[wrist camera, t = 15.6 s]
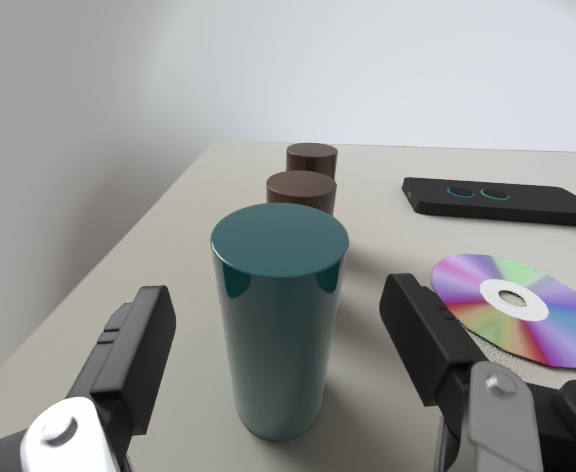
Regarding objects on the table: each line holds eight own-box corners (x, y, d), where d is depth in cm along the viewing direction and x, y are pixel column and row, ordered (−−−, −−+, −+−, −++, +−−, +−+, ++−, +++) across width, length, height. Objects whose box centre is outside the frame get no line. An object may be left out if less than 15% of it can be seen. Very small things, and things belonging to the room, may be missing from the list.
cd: (406, 256, 25) (407, 255, 25) (522, 252, 26) (522, 251, 26) (495, 376, 16) (495, 375, 16) (670, 363, 16) (671, 362, 16)
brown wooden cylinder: (263, 312, 19) (258, 193, 14) (274, 275, 23) (274, 168, 18) (320, 321, 19) (336, 200, 14) (323, 281, 22) (337, 173, 17)
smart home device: (403, 175, 38) (560, 185, 36) (400, 187, 39) (553, 197, 37) (419, 201, 31) (614, 215, 29) (415, 214, 32) (604, 229, 30)
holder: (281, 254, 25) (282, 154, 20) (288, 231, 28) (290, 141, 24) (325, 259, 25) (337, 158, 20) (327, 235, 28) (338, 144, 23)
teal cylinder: (222, 431, 13) (183, 265, 8) (249, 347, 17) (236, 197, 12) (319, 450, 13) (351, 287, 7) (324, 359, 16) (348, 208, 11)
